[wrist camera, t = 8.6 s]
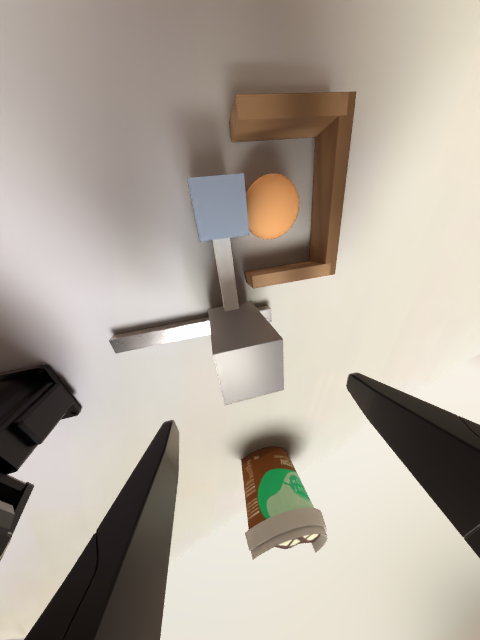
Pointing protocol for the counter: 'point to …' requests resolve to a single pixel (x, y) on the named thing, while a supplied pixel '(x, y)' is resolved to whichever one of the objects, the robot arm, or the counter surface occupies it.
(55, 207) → the counter surface
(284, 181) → the ball
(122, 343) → the rail
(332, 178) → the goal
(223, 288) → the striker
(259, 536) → the food container
